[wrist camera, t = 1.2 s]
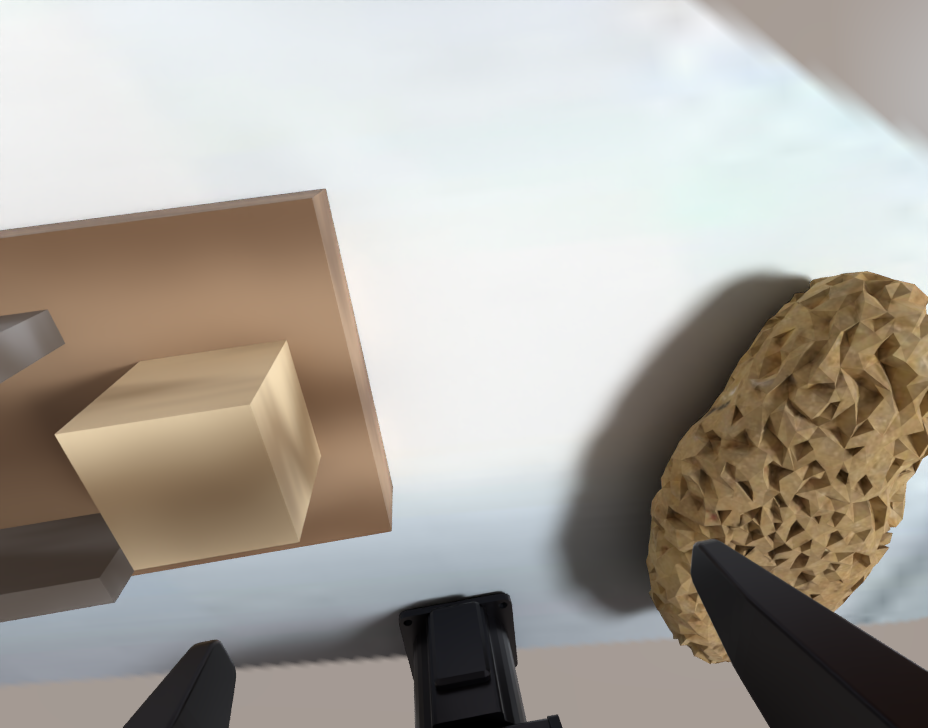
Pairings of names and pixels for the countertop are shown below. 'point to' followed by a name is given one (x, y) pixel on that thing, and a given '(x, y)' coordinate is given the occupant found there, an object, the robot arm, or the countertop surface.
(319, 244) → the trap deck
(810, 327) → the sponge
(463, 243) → the countertop surface
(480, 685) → the robot arm
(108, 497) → the maple block
